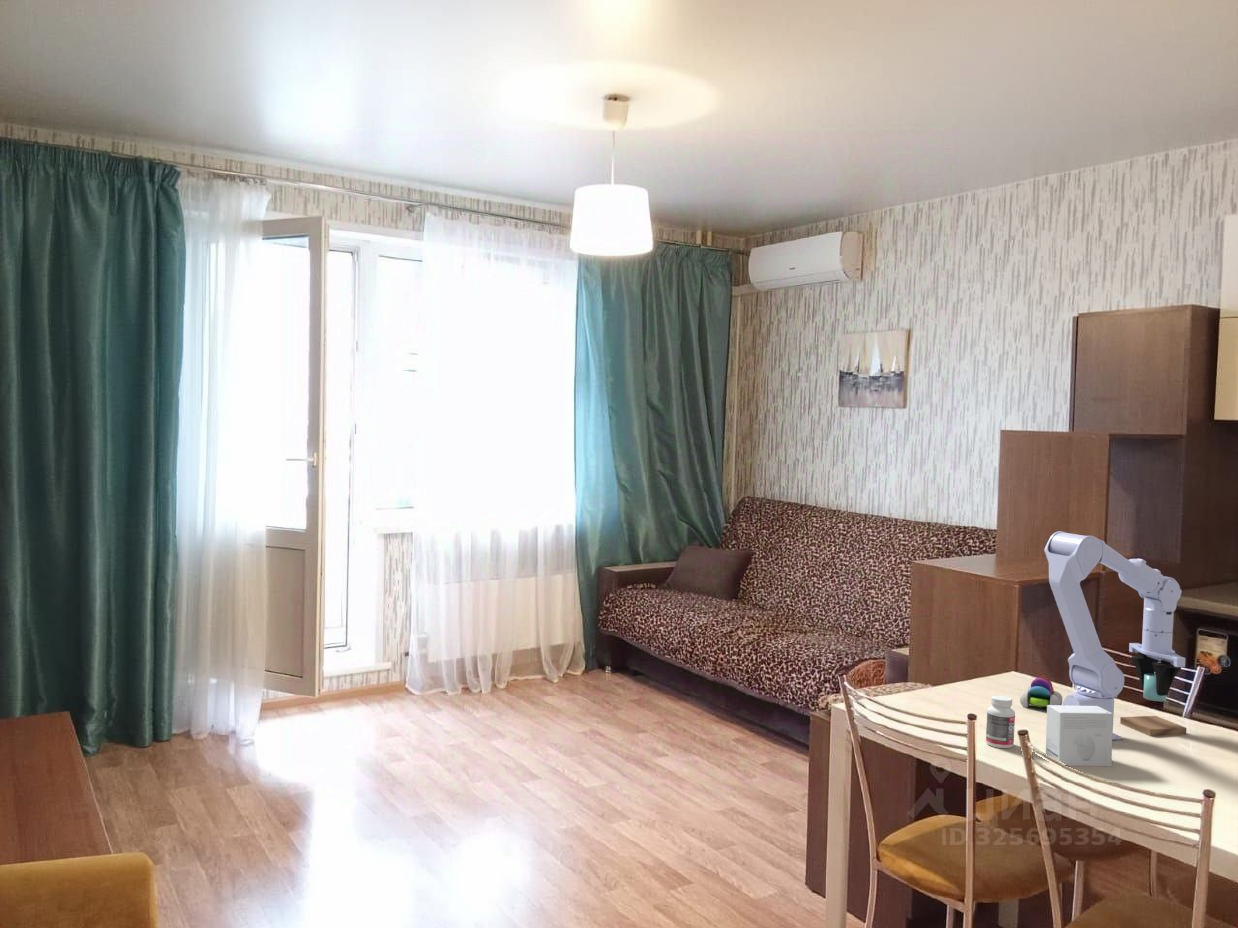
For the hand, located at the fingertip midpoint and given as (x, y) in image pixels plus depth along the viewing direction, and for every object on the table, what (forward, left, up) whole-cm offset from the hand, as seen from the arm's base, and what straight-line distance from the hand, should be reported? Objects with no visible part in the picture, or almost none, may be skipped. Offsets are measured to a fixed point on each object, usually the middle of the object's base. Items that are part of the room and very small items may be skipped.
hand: (1154, 692), depth 215 cm
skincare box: (-30, -16, -9) cm, 35 cm away
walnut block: (0, 0, -9) cm, 9 cm away
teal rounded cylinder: (0, 0, -1) cm, 1 cm away
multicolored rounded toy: (-14, +19, -9) cm, 26 cm away
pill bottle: (-40, -5, -9) cm, 41 cm away
